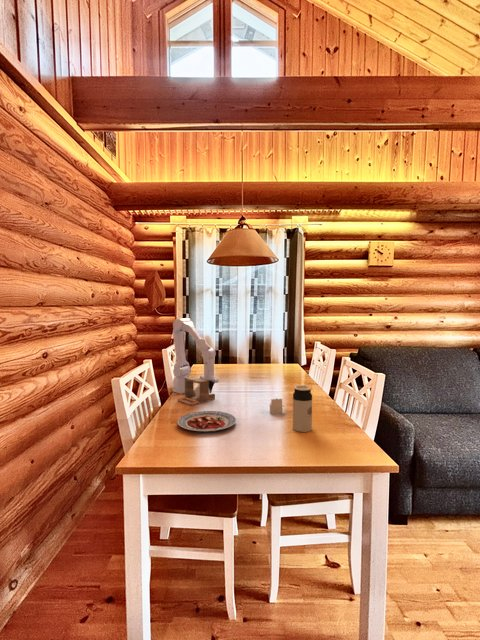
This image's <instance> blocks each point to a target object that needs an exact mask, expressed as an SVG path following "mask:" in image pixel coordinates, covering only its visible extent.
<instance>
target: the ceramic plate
mask: <svg viewBox="0 0 480 640" xmlns="http://www.w3.org/2000/svg"><path fill="white" fill-rule="evenodd" d="M236 422H237V418H236V416H234V415H233V414H231V413H228V412H224V411H217V410H202V411H201V410H200V411H194V412H190V413H186V414H184V415H181V416H180V417H179V418H178V419H177V424H178V426H179V427H181V428H182V429H185V430H189V431H191V432H192V431H195V432H216V431H220V430H225V429H228V428H231V427H232V426H233V425H235V424H236Z"/></svg>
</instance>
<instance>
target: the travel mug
mask: <svg viewBox="0 0 480 640" xmlns="http://www.w3.org/2000/svg"><path fill="white" fill-rule="evenodd" d="M293 389H294V392H293V394H292V429H293V430H294V431H296V432H298V433H308V432H310V431H312V428H313V427H312V426H313V394H312V393H311V391H312V387H311V386H309V385H306V384H305V385H303V384H301V385H300V384H299V385H294V386H293Z"/></svg>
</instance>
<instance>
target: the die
mask: <svg viewBox="0 0 480 640" xmlns="http://www.w3.org/2000/svg"><path fill="white" fill-rule="evenodd" d="M194 392H195V395H196V396H195V397H196V399H198V400H200V384H198V383H197V386H196V387H194ZM209 394H211V393H210V390H209Z"/></svg>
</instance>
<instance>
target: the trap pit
mask: <svg viewBox="0 0 480 640" xmlns="http://www.w3.org/2000/svg"><path fill="white" fill-rule="evenodd" d="M177 401H178V402H179V403H182V404H184V405H185V404H186V405H188V406H191V407H192V406H195V405H199V404H200V400H199V401H198V400H196V399H192V398H190V397H188V398H186V397H185V396H184V397H181V398H177Z"/></svg>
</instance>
